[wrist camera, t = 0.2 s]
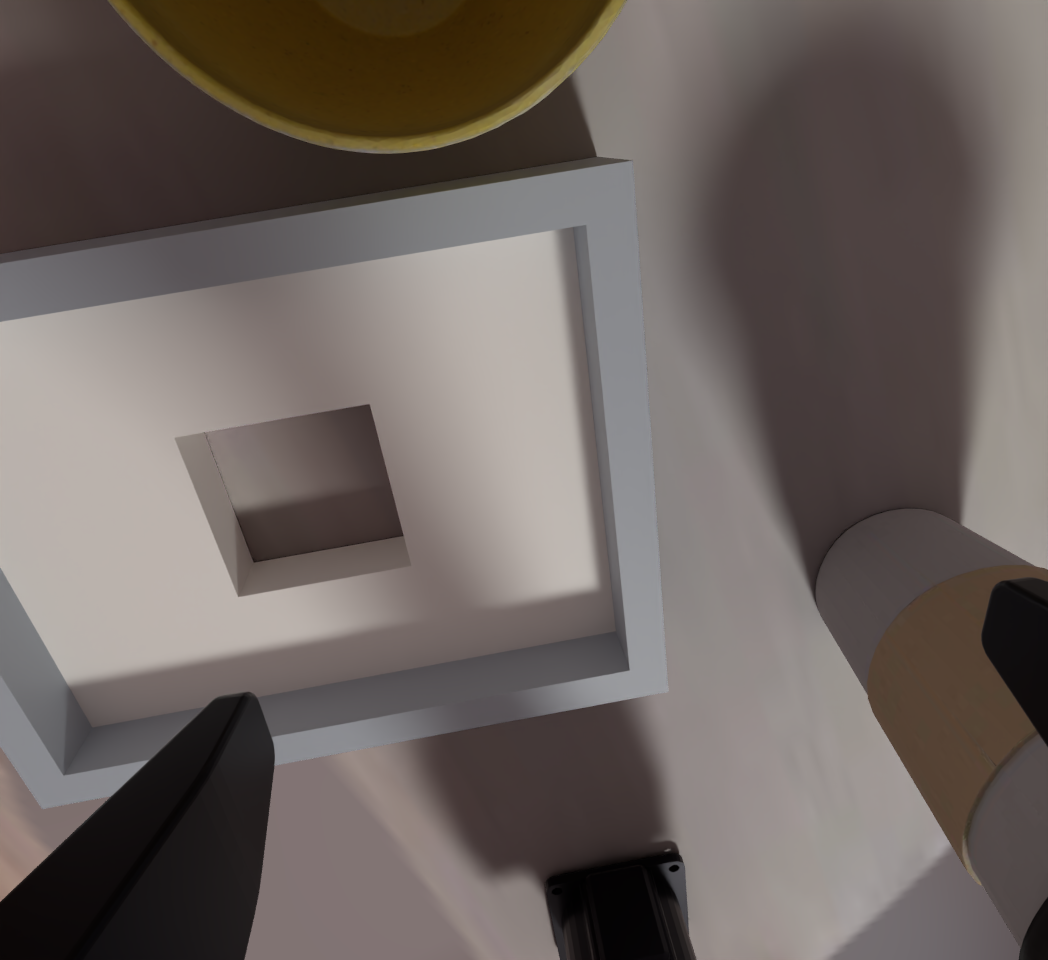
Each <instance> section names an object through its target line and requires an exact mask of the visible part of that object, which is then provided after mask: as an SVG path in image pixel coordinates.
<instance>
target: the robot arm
mask: <svg viewBox="0 0 1048 960" xmlns="http://www.w3.org/2000/svg"><path fill="white" fill-rule="evenodd" d="M981 642H982V646H983V649H984V651H985V653H986V655H987V657H988V658H989V660H990V661H991V663H992V664H993V666H994V667H995V669H996V670H997V672H998V673H999V675H1000V676H1001V678H1002V679H1003V681H1004V682H1005V684H1006V685H1007V687H1008V688H1009V690H1010V691H1011V693H1012V694H1013V696H1014V697H1015V699H1016V700H1017V702H1018V703H1019V705H1020V706H1021V708H1022V709H1023V711H1024V712H1025V714H1026V715H1027V717H1028V718H1029V720H1030V721H1031V723H1032V724H1033V726H1034V727H1035V729H1036V730H1037V732H1038V734H1039V735H1040V737H1041V738H1042V740H1043V741H1044V743H1045V744H1046V746H1047V747H1048V581H1045V580H1042V579H1039V578H1035V577H1024V578H1017V579H1010V580H1003V581H1000V582H998V583H997V584H996V585H995V586H994V587H993V589H992V591H991V594H990V598H989V603H988V607H987V611H986V615H985V619H984V623H983V627H982V632H981ZM274 765H275V749H274V743H273V740H272V737H271V734H270V731H269V728H268V725H267V723H266V720H265V717H264V714H263V711H262V708H261V706H260V703H259V700H258V698H257V697H256V695H255V694H254V693H251V692H240V693H234V694H227V695H221V696H218V697H216V698H214V699H213V700H212V701H211V702H210V703H209V704H208V705H207V706H205V707H204V708H203V709H202V710H201V711H200V712H199V713H198V714H197V715H196V716H195V717H194V718H193V719H192V720H191V721H190V722H189V723H188V724H187V725H186V726H184V727H183V728H182V729H181V730H180V731H179V732H178V733H177V734H176V735H175V736H174V737H173V738H172V739H171V740H170V741H169V742H168V743H167V744H166V745H165V746H163V747H162V748H161V749H160V750H159V751H158V752H157V753H156V754H155V755H154V756H153V757H152V758H151V759H150V760H149V761H148V762H147V763H146V764H145V765H144V766H142V767H141V768H140V769H139V770H138V771H137V772H136V773H135V774H134V775H133V776H132V777H131V778H130V779H129V780H128V781H127V782H126V783H125V784H124V785H123V786H121V787H120V788H119V789H118V790H117V791H116V792H115V793H114V794H113V795H112V796H111V797H110V798H109V799H108V800H107V801H106V802H105V803H104V804H103V805H102V806H101V807H100V808H98V809H97V810H96V811H95V812H94V813H93V814H92V815H91V816H90V817H89V818H88V819H87V820H86V821H85V822H84V823H83V824H82V825H81V826H79V827H78V828H77V829H76V830H75V831H74V832H73V833H72V834H71V835H70V836H69V837H68V838H67V839H66V840H65V841H64V842H63V843H62V844H61V845H60V846H58V847H57V848H56V849H55V850H54V851H53V852H52V853H51V854H50V855H49V856H48V857H47V858H46V859H45V860H44V861H43V862H42V863H41V864H40V865H39V866H37V867H36V868H35V869H34V870H33V871H32V872H31V873H30V874H29V875H28V876H27V877H26V878H25V879H24V880H23V881H22V882H21V883H20V884H19V885H18V886H16V887H15V888H14V889H13V890H12V891H11V892H10V893H9V894H8V895H7V896H6V897H5V898H4V899H3V900H2V901H1V902H0V960H244V959H245V954H246V950H247V945H248V941H249V937H250V932H251V928H252V924H253V919H254V915H255V910H256V905H257V900H258V895H259V889H260V882H261V874H262V865H263V858H264V850H265V840H266V832H267V823H268V816H269V807H270V798H271V790H272V782H273V773H274ZM545 886H546V893H547V898H548V903H549V908H550V913H551V918H552V923H553V927H554V932H555V937H556V942H557V947H558V952H559V957H560V960H696V956H695V953H694V950H693V947H692V944H691V940H690V937H689V927H688V911H687V895H686V879H685V866H684V863H683V860H682V857H681V856H680V855H679V854H676V853H674V854H667V855H662V856H657V857H651V858H646V859H641V860H636V861H631V862H626V863H621V864H615V865H610V866H605V867H600V868H595V869H590V870H585V871H579V872H574V873H569V874H564V875H559V876H554V877H551V878H549V879H548V880H547V881H546V884H545Z"/></svg>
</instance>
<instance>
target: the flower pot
mask: <svg viewBox="0 0 1048 960" xmlns="http://www.w3.org/2000/svg"><path fill="white" fill-rule="evenodd" d="M107 1H108V2H109V3H110V4H111V6H112V7H113V8H114V9H115V10H116V12H117V13H118V14H119V15H120V16H121V18H122V19H123V20H124V21H125V22H126V23H127V24H128V26H129V27H130V28H131V29H132V30H133V31H134V32H135V33H136V34H137V35H138V36H139V37H140V38H141V39H142V40H143V41H144V42H145V43H146V44H147V45H148V46H149V47H150V48H151V49H152V50H153V51H154V52H155V53H156V54H157V55H158V56H159V57H160V58H161V59H162V60H164V61H165V62H166V63H167V64H168V65H169V66H171V67H172V68H173V69H174V70H175V71H176V72H178V73H179V74H180V75H181V76H183V77H184V78H185V79H186V80H188V81H189V82H190V83H192V84H193V85H194V86H196V87H197V88H199V89H200V90H202V91H203V92H205V93H206V94H207V95H209V96H210V97H212V98H213V99H215V100H217V101H218V102H220V103H222V104H223V105H225V106H226V107H228V108H230V109H232V110H233V111H235V112H237V113H239V114H241V115H243V116H244V117H246V118H248V119H250V120H252V121H254V122H256V123H257V124H260V125H262V126H264V127H267V128H269V129H271V130H274V131H276V132H279V133H282V134H284V135H287V136H290V137H292V138H295V139H299V140H302V141H305V142H308V143H312V144H316V145H319V146H323V147H327V148H333V149H339V150H346V151H354V152H362V153H381V154H392V153H408V152H417V151H425V150H431V149H436V148H441V147H444V146H448V145H452V144H455V143H459V142H462V141H465V140H468V139H471V138H474V137H476V136H479V135H481V134H483V133H486V132H488V131H490V130H493V129H495V128H498V127H499V126H501V125H503V124H504V123H506V122H508V121H510V120H512V119H514V118H515V117H517V116H519V115H521V114H523V113H525V112H526V111H528V110H529V109H530V108H532V107H533V106H535V105H536V104H538V103H539V102H540V101H541V100H543V99H544V98H545V97H546V96H548V95H549V94H550V93H551V92H552V91H553V90H554V89H555V88H557V87H558V86H559V85H560V84H561V83H562V82H563V81H564V80H565V79H566V78H567V77H569V76H570V75H571V74H572V73H573V72H574V71H575V70H576V69H577V68H578V66H579V65H580V64H581V63H582V62H583V61H584V60H585V59H586V58H587V56H588V55H589V54H590V53H591V52H592V51H593V50H594V48H595V47H596V46H597V45H598V43H599V42H600V41H601V40H602V38H603V37H604V36H605V34H606V33H607V31H608V30H609V28H610V27H611V25H612V24H613V22H614V21H615V19H616V18H617V17H618V15H619V14H620V12H621V10H622V8H623V7H624V5H625V3H626V1H627V0H107Z"/></svg>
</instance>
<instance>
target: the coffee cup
mask: <svg viewBox="0 0 1048 960" xmlns="http://www.w3.org/2000/svg"><path fill="white" fill-rule="evenodd" d="M1024 577H1035V578H1039V579H1042V580H1045V581H1048V570H1047V569H1045V568H1040V567H1036V566H1034V565H1032V564H1030V563H1028V562H1027V561H1025V560H1023V559H1021V558H1019V557H1018V556H1016V555H1014V554H1012V553H1011V552H1009V551H1007V550H1005V549H1003V548H1002V547H1000V546H998V545H996V544H994V543H993V542H991V541H989V540H987V539H985V538H984V537H982V536H980V535H978V534H977V533H975V532H973V531H971V530H969V529H968V528H966V527H964V526H962V525H960V524H959V523H957V522H955V521H953V520H951V519H950V518H948V517H946V516H943V515H941V514H939V513H936V512H934V511H929V510H924V509H898V510H891V511H887V512H883V513H880V514H876V515H873V516H871V517H869V518H867V519H865V520H863V521H860V522H859V523H857V524H856V525H854V526H853V527H851V528H850V529H848V530H847V531H846V532H845V533H844V534H843V535H842V536H841V537H840V538H838V539H837V540H836V541H835V543H834V544H833V546H832V547H831V548H830V550H829V551H828V553H827V554H826V556H825V558H824V560H823V562H822V565H821V567H820V570H819V573H818V577H817V581H816V591H815V594H816V603H817V607H818V610H819V612H820V615H821V617H822V619H823V621H824V622H825V624H826V626H827V627H828V629H829V631H830V632H831V634H832V636H833V637H834V639H835V641H836V642H837V644H838V646H839V647H840V649H841V651H842V653H843V654H844V656H845V658H846V659H847V661H848V663H849V664H850V666H851V668H852V669H853V671H854V673H855V674H856V676H857V678H858V679H859V681H860V683H861V684H862V686H863V688H864V690H865V691H866V693H867V695H868V700H869V703H870V705H871V708H872V711H873V713H874V715H875V717H876V719H877V720H878V722H879V724H880V725H881V727H882V729H883V730H884V732H885V734H886V736H887V737H888V739H889V741H890V742H891V744H892V746H893V747H894V749H895V751H896V752H897V754H898V756H899V757H900V759H901V761H902V763H903V764H904V766H905V768H906V769H907V771H908V773H909V774H910V776H911V778H912V779H913V781H914V783H915V784H916V786H917V788H918V789H919V791H920V793H921V795H922V796H923V798H924V800H925V801H926V803H927V805H928V806H929V808H930V810H931V811H932V813H933V815H934V816H935V818H936V820H937V822H938V823H939V825H940V827H941V828H942V830H943V832H944V833H945V835H946V837H947V838H948V840H949V842H950V843H951V845H952V847H953V849H954V850H955V852H956V854H957V855H958V857H959V859H960V860H961V862H962V864H963V865H964V867H965V868H966V870H967V871H968V873H969V874H970V875H971V876H972V877H973V878H974V880H975V881H976V882H977V883H978V884H979V885H981V886H983V887H984V888H985V890H986V892H987V894H988V895H989V897H990V899H991V900H992V902H993V904H994V905H995V907H996V908H997V910H998V912H999V913H1000V915H1001V917H1002V918H1003V920H1004V922H1005V923H1006V925H1007V927H1008V928H1009V930H1010V932H1011V933H1012V935H1013V937H1014V938H1015V940H1016V942H1017V943H1018V945H1019V946H1020V948H1021V949H1020V955H1019V960H1048V747H1047V746H1046V744H1045V743H1044V741H1043V740H1042V738H1041V737H1040V735H1039V734H1038V732H1037V730H1036V729H1035V727H1034V726H1033V724H1032V723H1031V721H1030V720H1029V718H1028V717H1027V715H1026V714H1025V712H1024V711H1023V709H1022V708H1021V706H1020V705H1019V703H1018V702H1017V700H1016V699H1015V697H1014V696H1013V694H1012V693H1011V691H1010V690H1009V688H1008V687H1007V685H1006V684H1005V682H1004V681H1003V679H1002V678H1001V676H1000V675H999V673H998V672H997V670H996V669H995V667H994V666H993V664H992V663H991V661H990V660H989V658H988V657H987V655H986V653H985V651H984V649H983V646H982V642H981V632H982V627H983V623H984V619H985V615H986V611H987V607H988V603H989V598H990V594H991V591H992V589H993V587H994V586H995V585H996V584H997V583H998V582H1000V581H1003V580H1010V579H1017V578H1024Z"/></svg>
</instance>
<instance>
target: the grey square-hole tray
mask: <svg viewBox="0 0 1048 960" xmlns="http://www.w3.org/2000/svg"><path fill="white" fill-rule="evenodd" d="M367 404H370V407H371V411H372V415H373V419H374V423H375V427H376V430H377V434H378V438H379V442H380V446H381V450H382V454H383V458H384V461H385V465H386V469H387V473H388V477H389V481H390V485H391V489H392V492H393V496H394V500H395V504H396V508H397V512H398V516H399V520H400V523H401V527H402V531H403V535H404V536H401V537H395V538H390V539H384V540H379V541H373V542H367V543H362V544H356V545H350V546H345V547H339V548H334V549H328V550H322V551H317V552H311V553H306V554H300V555H294V556H289V557H283V558H277V559H272V560H266V561H261V562H255V563H253V560H252V557H251V555H250V552H249V549H248V547H247V544H246V541H245V539H244V536H243V533H242V531H241V528H240V526H239V523H238V520H237V518H236V515H235V512H234V510H233V507H232V504H231V502H230V499H229V496H228V494H227V491H226V489H225V486H224V483H223V481H222V478H221V475H220V473H219V470H218V467H217V465H216V462H215V460H214V457H213V454H212V452H211V449H210V446H209V444H208V441H207V438H206V436H205V433H204V432H210V431H216V430H221V429H227V428H233V427H239V426H245V425H250V424H256V423H262V422H268V421H274V420H279V419H285V418H291V417H297V416H303V415H309V414H314V413H320V412H326V411H332V410H338V409H343V408H349V407H355V406H361V405H367ZM240 692H251V693H254V694H255V695H256V697H257V698H258V700H259V703H260V706H261V708H262V711H263V714H264V717H265V720H266V723H267V725H268V728H269V731H270V734H271V737H272V740H273V743H274V749H275V765H280V764H285V763H291V762H296V761H301V760H307V759H312V758H317V757H323V756H328V755H333V754H339V753H344V752H350V751H355V750H360V749H366V748H371V747H376V746H382V745H387V744H392V743H398V742H403V741H408V740H414V739H419V738H424V737H430V736H435V735H440V734H446V733H451V732H456V731H462V730H467V729H472V728H478V727H483V726H488V725H494V724H499V723H504V722H510V721H515V720H520V719H526V718H531V717H536V716H542V715H547V714H553V713H558V712H563V711H569V710H574V709H579V708H585V707H590V706H595V705H601V704H606V703H611V702H617V701H622V700H627V699H633V698H638V697H643V696H649V695H654V694H659V693H665V692H668V678H667V663H666V648H665V633H664V618H663V603H662V588H661V574H660V559H659V544H658V529H657V514H656V499H655V484H654V469H653V454H652V439H651V424H650V409H649V394H648V379H647V364H646V349H645V334H644V319H643V304H642V289H641V274H640V259H639V244H638V229H637V214H636V199H635V184H634V169H633V160H623V159H614V158H604V157H593V158H587V159H581V160H575V161H569V162H563V163H557V164H550V165H544V166H538V167H532V168H526V169H520V170H514V171H507V172H501V173H495V174H489V175H483V176H477V177H470V178H464V179H458V180H452V181H446V182H440V183H434V184H427V185H421V186H415V187H409V188H403V189H397V190H391V191H384V192H378V193H372V194H366V195H360V196H354V197H347V198H341V199H335V200H329V201H323V202H317V203H311V204H304V205H298V206H292V207H286V208H280V209H274V210H268V211H261V212H255V213H249V214H243V215H237V216H231V217H225V218H218V219H212V220H206V221H200V222H194V223H188V224H181V225H175V226H169V227H163V228H157V229H151V230H145V231H138V232H132V233H126V234H120V235H114V236H108V237H102V238H95V239H89V240H83V241H77V242H71V243H65V244H58V245H52V246H46V247H40V248H34V249H28V250H22V251H15V252H9V253H3V254H0V747H1V748H2V750H3V751H4V753H5V754H6V756H7V757H8V759H9V760H10V762H11V763H12V765H13V766H14V768H15V769H16V771H17V772H18V774H19V775H20V777H21V778H22V780H23V781H24V783H25V784H26V786H27V787H28V789H29V790H30V792H31V793H32V795H33V796H34V798H35V799H36V801H37V802H38V804H39V805H40V807H41V808H42V809H45V808H50V807H56V806H61V805H66V804H72V803H77V802H82V801H88V800H93V799H98V798H104V797H109V796H112V795H113V794H114V793H115V792H116V791H117V790H118V789H119V788H120V787H121V786H123V785H124V784H125V783H126V782H127V781H128V780H129V779H130V778H131V777H132V776H133V775H134V774H135V773H136V772H137V771H138V770H139V769H140V768H141V767H142V766H144V765H145V764H146V763H147V762H148V761H149V760H150V759H151V758H152V757H153V756H154V755H155V754H156V753H157V752H158V751H159V750H160V749H161V748H162V747H163V746H165V745H166V744H167V743H168V742H169V741H170V740H171V739H172V738H173V737H174V736H175V735H176V734H177V733H178V732H179V731H180V730H181V729H182V728H183V727H184V726H186V725H187V724H188V723H189V722H190V721H191V720H192V719H193V718H194V717H195V716H196V715H197V714H198V713H199V712H200V711H201V710H202V709H203V708H204V707H205V706H207V705H208V704H209V703H210V702H211V701H212V700H213V699H214V698H216V697H218V696H221V695H227V694H234V693H240ZM275 765H274V766H275Z"/></svg>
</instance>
